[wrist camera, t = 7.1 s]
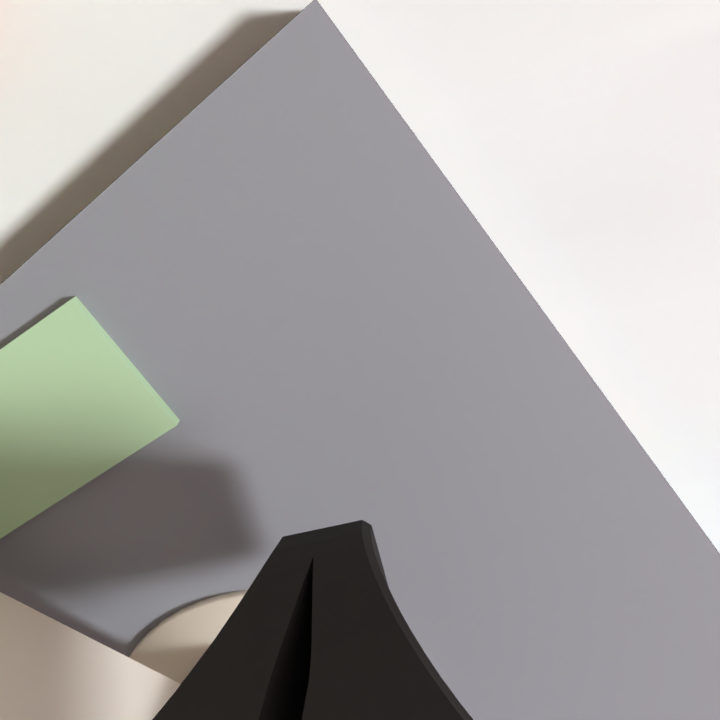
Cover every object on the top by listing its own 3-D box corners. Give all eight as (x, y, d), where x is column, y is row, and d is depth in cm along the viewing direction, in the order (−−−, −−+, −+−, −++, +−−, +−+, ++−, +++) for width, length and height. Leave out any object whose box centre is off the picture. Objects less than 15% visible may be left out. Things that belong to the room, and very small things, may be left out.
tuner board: (791, 656, 15) (827, 701, 14) (240, 954, 18) (233, 1010, 17) (318, 8, 10) (315, -5, 9) (-297, 564, 14) (-356, 605, 12)
